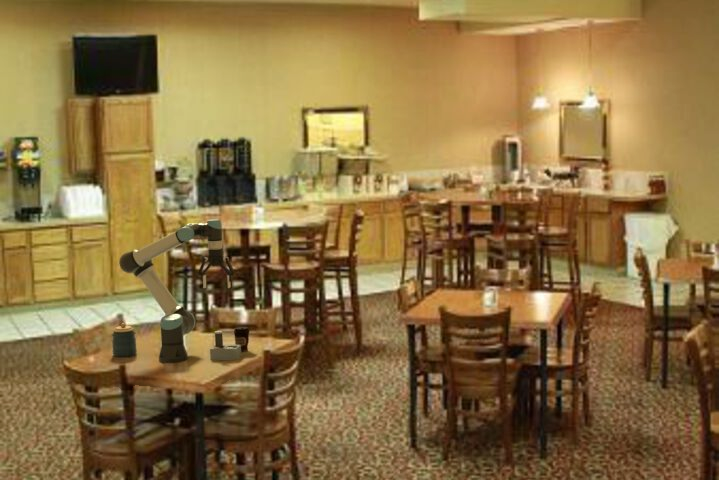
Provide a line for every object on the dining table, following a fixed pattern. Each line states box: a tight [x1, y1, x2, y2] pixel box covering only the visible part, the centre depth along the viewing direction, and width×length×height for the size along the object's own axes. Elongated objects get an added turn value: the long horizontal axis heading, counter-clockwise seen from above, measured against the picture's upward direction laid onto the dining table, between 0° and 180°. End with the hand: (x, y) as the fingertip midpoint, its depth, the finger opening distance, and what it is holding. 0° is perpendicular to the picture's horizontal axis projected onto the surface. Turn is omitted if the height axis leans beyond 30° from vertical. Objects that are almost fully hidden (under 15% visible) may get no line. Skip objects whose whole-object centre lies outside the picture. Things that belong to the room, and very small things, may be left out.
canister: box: [111, 322, 138, 358], centre depth 549 cm, size 13×13×18 cm
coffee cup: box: [233, 326, 250, 353], centre depth 551 cm, size 9×8×13 cm
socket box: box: [209, 344, 242, 361], centre depth 537 cm, size 14×10×6 cm
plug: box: [214, 330, 224, 348], centre depth 537 cm, size 4×4×12 cm
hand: (217, 287), depth 541 cm, fingers open, 13 cm apart
